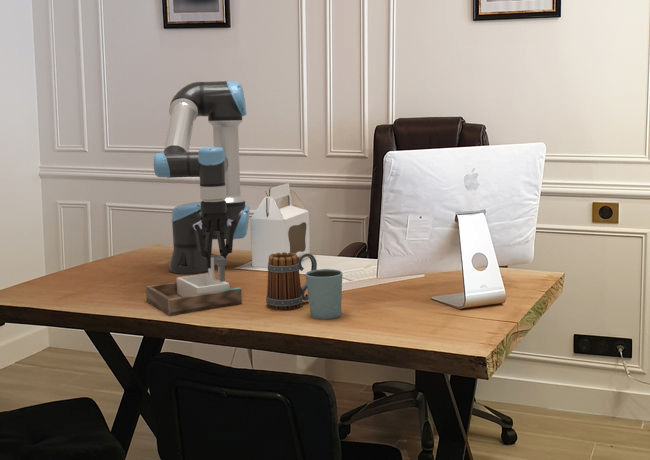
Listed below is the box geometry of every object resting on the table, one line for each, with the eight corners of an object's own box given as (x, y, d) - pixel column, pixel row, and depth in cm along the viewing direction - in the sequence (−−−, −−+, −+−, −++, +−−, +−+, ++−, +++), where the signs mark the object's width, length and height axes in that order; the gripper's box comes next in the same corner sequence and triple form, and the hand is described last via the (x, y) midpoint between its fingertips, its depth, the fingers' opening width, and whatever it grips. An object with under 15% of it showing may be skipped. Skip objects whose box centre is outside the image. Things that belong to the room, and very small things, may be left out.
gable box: (277, 255, 317) (275, 181, 312) (310, 257, 312) (308, 182, 307) (251, 267, 297) (248, 188, 292) (285, 269, 292) (283, 189, 287)
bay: (214, 290, 262) (213, 275, 262) (241, 304, 245) (241, 288, 245) (146, 301, 251) (145, 285, 250) (170, 315, 234) (169, 299, 234)
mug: (275, 312, 236) (273, 260, 233) (260, 304, 245) (258, 254, 242) (324, 305, 243) (323, 254, 240) (308, 297, 252) (307, 248, 249)
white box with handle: (210, 288, 259) (208, 251, 258) (232, 299, 246) (230, 260, 244) (177, 293, 254) (175, 255, 252) (198, 305, 240) (196, 265, 238)
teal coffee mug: (347, 318, 229) (347, 274, 227) (312, 321, 226) (311, 278, 224) (336, 308, 238) (336, 267, 236) (302, 312, 235) (301, 270, 233)
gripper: (232, 196, 254) (235, 272, 258) (183, 200, 247) (187, 279, 250) (242, 199, 248) (245, 276, 252) (193, 203, 240) (196, 283, 244)
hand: (216, 277), depth 251 cm, fingers closed on white box with handle, 2 cm apart
